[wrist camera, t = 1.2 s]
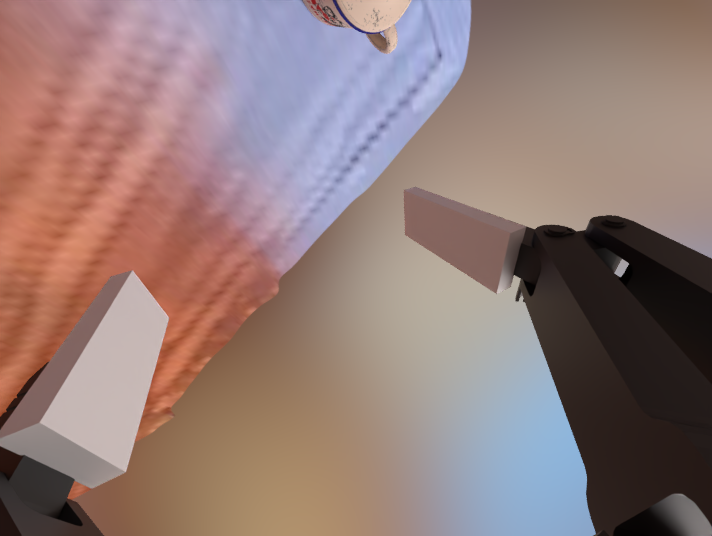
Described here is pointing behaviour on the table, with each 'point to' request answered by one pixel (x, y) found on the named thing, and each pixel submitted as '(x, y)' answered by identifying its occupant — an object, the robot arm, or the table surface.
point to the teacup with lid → (363, 18)
